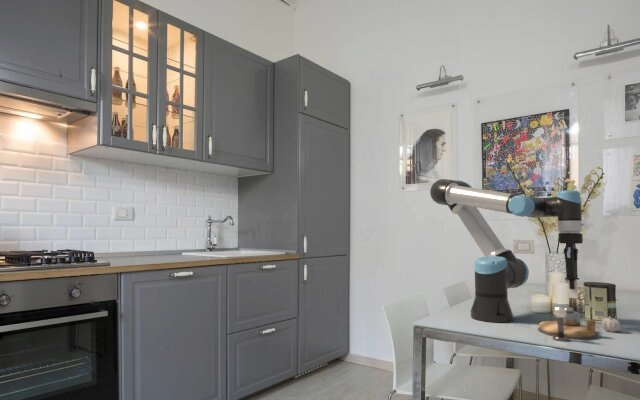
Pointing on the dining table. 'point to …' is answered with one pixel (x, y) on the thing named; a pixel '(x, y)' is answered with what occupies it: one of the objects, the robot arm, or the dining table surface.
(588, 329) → the turntable
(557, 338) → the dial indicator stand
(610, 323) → the garlic
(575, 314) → the cast cover
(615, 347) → the dining table surface
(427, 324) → the dining table surface
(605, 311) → the coffee can
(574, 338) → the turntable base
